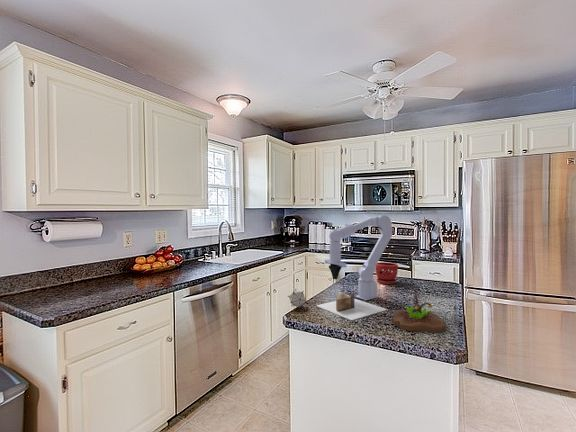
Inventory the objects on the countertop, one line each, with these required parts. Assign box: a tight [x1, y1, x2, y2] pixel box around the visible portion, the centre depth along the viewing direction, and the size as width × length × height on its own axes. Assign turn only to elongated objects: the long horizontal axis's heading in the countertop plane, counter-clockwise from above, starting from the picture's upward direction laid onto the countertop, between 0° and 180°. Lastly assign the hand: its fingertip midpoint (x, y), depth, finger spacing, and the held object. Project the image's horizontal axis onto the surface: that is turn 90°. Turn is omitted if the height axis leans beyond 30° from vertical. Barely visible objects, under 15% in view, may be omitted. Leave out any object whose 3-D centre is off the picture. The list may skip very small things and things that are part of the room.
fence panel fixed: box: [337, 291, 355, 308], centre depth 148 cm, size 10×2×6 cm, turn 35°
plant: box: [391, 294, 447, 334], centre depth 127 cm, size 20×20×11 cm
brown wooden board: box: [335, 295, 351, 311], centre depth 142 cm, size 8×1×5 cm, turn 121°
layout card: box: [315, 298, 388, 322], centre depth 145 cm, size 23×23×1 cm
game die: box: [287, 288, 309, 310], centre depth 146 cm, size 9×8×10 cm
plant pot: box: [375, 261, 399, 285], centre depth 193 cm, size 13×13×12 cm
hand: (335, 279), depth 163 cm, fingers closed
